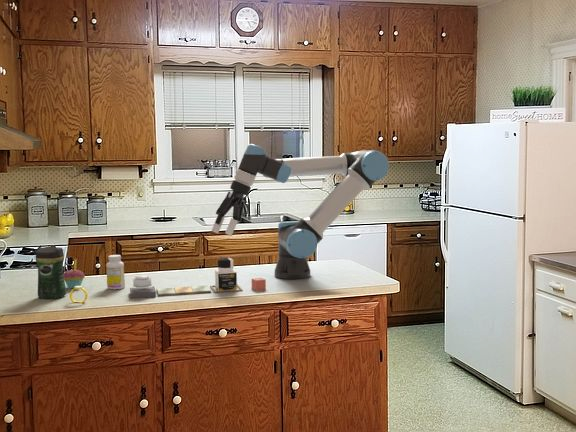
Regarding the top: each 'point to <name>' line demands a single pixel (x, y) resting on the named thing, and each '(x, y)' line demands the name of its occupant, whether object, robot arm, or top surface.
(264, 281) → the die
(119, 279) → the supplement bottle
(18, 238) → the top surface
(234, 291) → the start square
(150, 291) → the popper base
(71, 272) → the cupcake
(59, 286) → the coffee jar
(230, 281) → the medicine bottle
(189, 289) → the track
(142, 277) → the dome
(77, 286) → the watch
